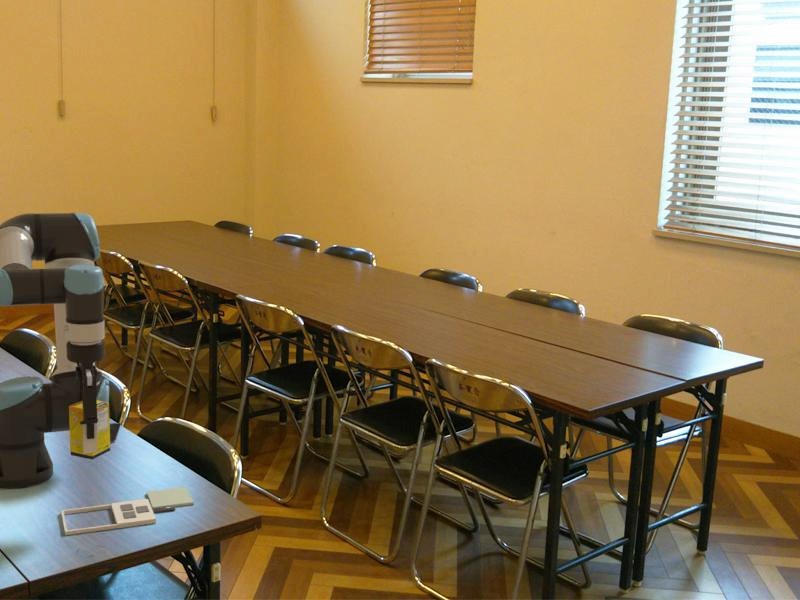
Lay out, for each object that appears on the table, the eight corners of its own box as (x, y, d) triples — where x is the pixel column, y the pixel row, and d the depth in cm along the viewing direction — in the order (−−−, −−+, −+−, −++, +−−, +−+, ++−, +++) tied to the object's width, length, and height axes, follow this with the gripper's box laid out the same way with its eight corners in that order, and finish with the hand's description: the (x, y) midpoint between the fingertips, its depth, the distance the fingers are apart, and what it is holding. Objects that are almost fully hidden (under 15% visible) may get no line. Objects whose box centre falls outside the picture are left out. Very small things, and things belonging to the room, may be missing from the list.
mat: (146, 494, 219) (146, 491, 219) (185, 489, 223) (185, 486, 222) (153, 509, 211) (153, 507, 211) (193, 504, 215) (193, 502, 214)
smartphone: (121, 423, 264) (114, 441, 250) (121, 426, 264) (114, 444, 250) (93, 423, 263) (85, 441, 248) (93, 426, 263) (85, 445, 248)
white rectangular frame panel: (61, 513, 207) (60, 508, 207) (170, 500, 216) (170, 495, 216) (65, 535, 197) (65, 529, 197) (179, 519, 207) (179, 514, 206)
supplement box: (88, 446, 205) (86, 397, 203) (111, 451, 203) (110, 402, 201) (69, 455, 200) (67, 405, 197) (92, 460, 198) (91, 410, 195)
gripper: (62, 329, 204) (65, 430, 209) (70, 355, 185) (73, 464, 190) (98, 327, 207) (100, 427, 212) (110, 352, 188) (112, 460, 193)
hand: (88, 444), depth 201 cm, fingers closed on supplement box, 8 cm apart
